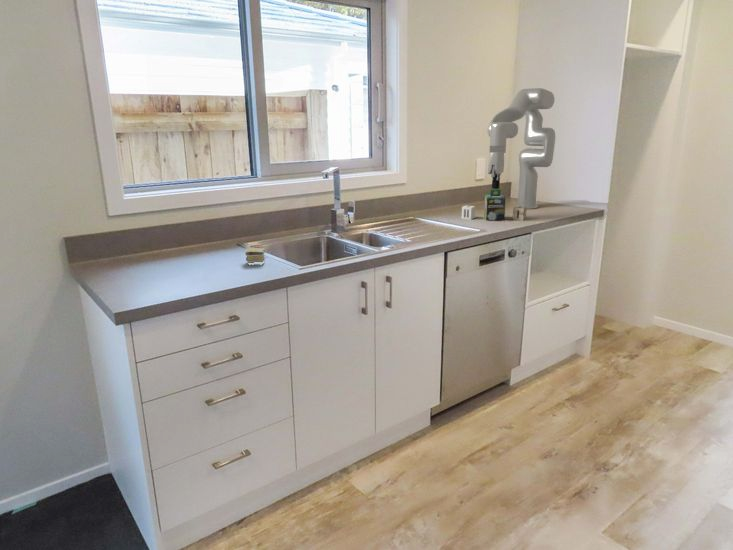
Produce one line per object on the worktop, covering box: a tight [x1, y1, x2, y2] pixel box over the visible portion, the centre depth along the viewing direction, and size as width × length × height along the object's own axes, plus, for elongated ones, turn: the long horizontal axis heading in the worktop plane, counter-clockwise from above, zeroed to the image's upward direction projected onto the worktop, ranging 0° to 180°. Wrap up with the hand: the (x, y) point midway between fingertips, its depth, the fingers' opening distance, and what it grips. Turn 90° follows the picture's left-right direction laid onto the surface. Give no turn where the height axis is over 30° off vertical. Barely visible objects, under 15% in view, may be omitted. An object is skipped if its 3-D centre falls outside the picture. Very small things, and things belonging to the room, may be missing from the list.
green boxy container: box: [483, 188, 507, 222], centre depth 254 cm, size 9×9×15 cm
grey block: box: [461, 205, 476, 220], centre depth 258 cm, size 5×5×6 cm
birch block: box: [512, 206, 528, 222], centre depth 254 cm, size 5×5×6 cm
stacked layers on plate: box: [244, 247, 266, 264], centre depth 184 cm, size 10×9×6 cm
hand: (495, 188), depth 252 cm, fingers closed
